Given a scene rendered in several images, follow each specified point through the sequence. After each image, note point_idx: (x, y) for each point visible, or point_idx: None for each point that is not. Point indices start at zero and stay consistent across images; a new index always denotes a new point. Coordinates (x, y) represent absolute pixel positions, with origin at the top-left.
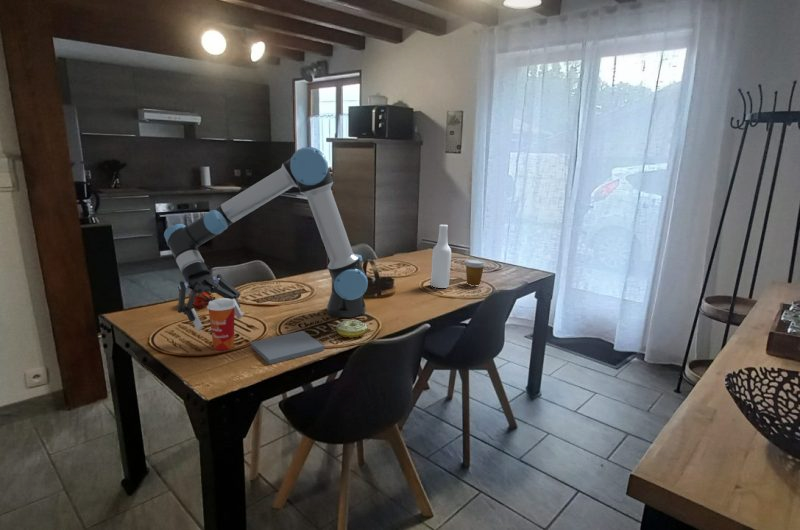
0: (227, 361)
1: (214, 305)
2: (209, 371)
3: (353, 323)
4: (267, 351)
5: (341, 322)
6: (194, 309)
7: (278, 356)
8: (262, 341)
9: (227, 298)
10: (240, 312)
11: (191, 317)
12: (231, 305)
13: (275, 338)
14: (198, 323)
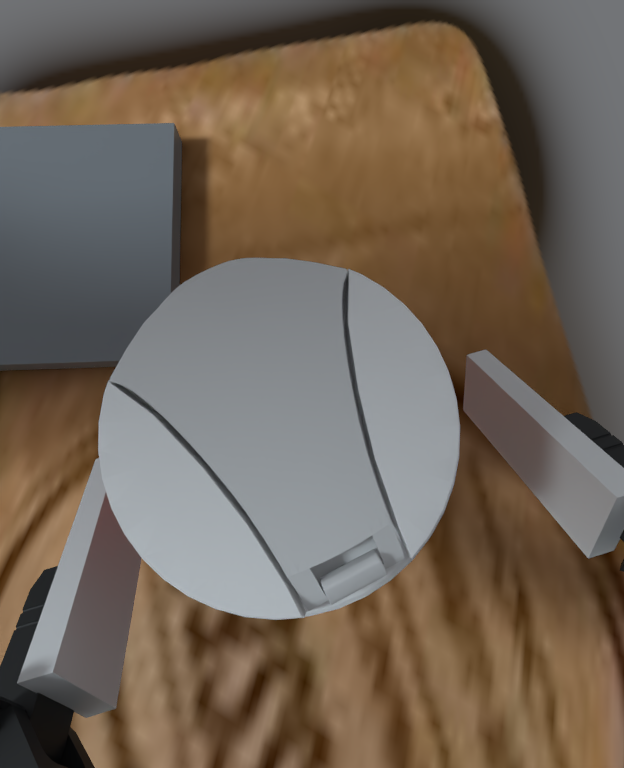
0: (329, 261)
1: (406, 308)
2: (421, 208)
3: None
4: (143, 208)
5: None
6: (604, 480)
7: (124, 134)
8: (111, 338)
9: (144, 549)
10: (99, 481)
11: (590, 427)
12: (190, 279)
13: (32, 341)
14: (508, 372)
